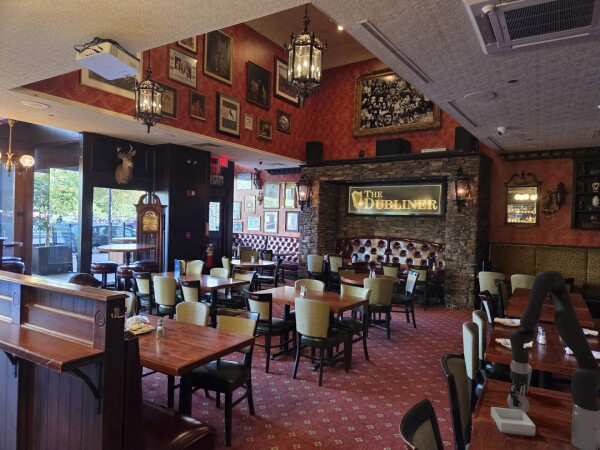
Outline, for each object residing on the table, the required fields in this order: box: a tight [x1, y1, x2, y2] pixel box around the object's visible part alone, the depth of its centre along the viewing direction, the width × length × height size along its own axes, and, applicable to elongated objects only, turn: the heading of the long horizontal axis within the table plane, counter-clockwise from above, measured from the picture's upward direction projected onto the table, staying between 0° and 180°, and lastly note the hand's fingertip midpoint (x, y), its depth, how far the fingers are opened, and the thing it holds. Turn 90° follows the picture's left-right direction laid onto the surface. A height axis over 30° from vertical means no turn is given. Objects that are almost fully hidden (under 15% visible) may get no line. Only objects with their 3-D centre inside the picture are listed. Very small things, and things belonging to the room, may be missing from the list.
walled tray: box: [490, 406, 536, 437], centre depth 179 cm, size 14×14×4 cm
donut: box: [507, 394, 530, 414], centre depth 190 cm, size 10×4×10 cm, turn 37°
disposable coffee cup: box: [509, 364, 533, 393], centre depth 214 cm, size 11×11×15 cm
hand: (518, 404), depth 190 cm, fingers open, 4 cm apart
